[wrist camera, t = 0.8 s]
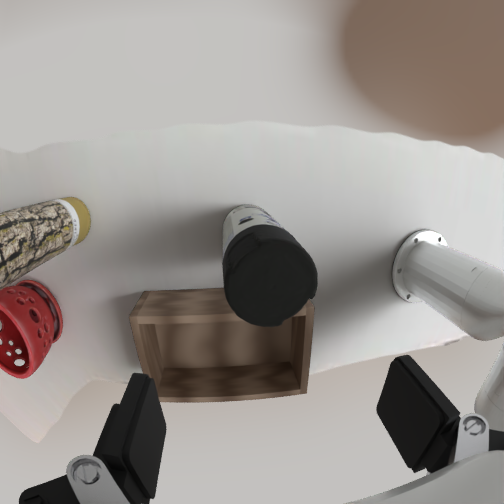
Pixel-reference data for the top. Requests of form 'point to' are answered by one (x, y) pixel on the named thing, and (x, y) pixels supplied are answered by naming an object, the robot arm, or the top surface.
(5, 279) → the paper tube
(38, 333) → the plant pot
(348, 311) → the top surface
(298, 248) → the spray can
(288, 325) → the walnut box
